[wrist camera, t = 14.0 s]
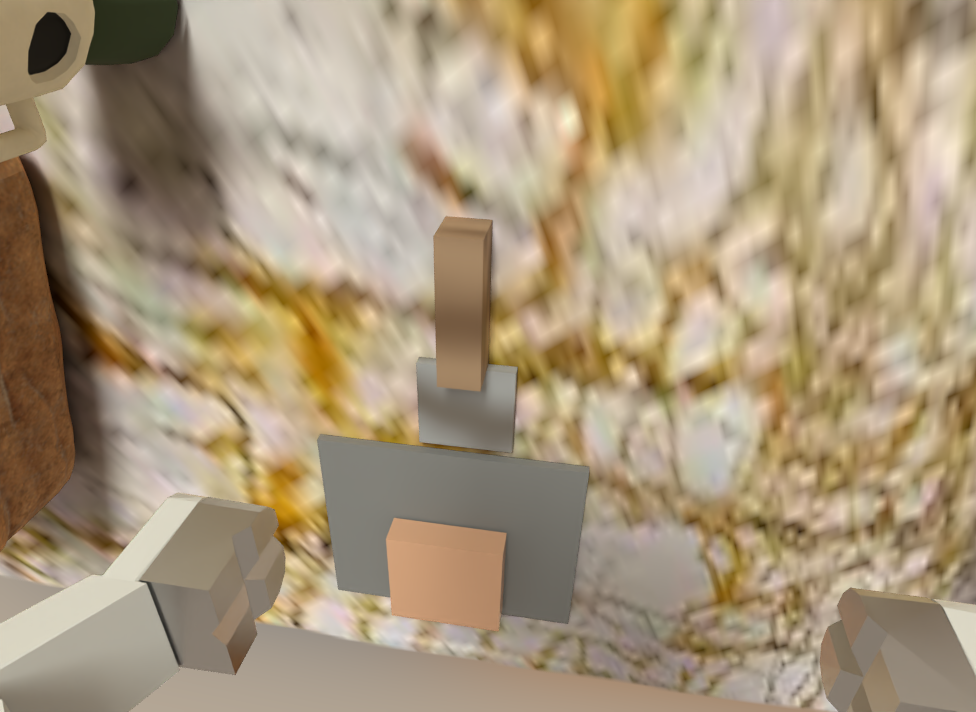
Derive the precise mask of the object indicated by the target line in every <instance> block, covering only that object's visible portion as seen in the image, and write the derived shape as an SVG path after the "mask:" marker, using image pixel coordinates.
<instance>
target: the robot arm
mask: <svg viewBox="0 0 976 712" xmlns="http://www.w3.org/2000/svg"><path fill="white" fill-rule="evenodd" d="M277 527H278V521H277V517H276V513H275V510H274V509H272V508H269V507H265V506H259V505H253V504H247V503H241V502H235V501H229V500H223V499H217V498H211V497H203V496H196V495H190V494H184V493H176V494H174V495H172V496H170V497H168V498H167V499H166V500H165V501H164V502H163V504H162V505H161V506H160V507H159V508H158V510H157V511H156V512H155V513H154V514H153V516H152V517H151V518H150V519H149V520H148V522H147V523H146V524H145V525H144V526H143V527H142V529H141V530H140V531H139V532H138V533H137V535H136V536H135V537H134V538H133V539H132V541H131V542H130V543H129V544H128V545H127V547H126V548H125V549H124V550H123V551H122V553H121V554H120V555H119V556H118V557H117V559H116V560H115V561H114V562H113V563H112V565H111V566H110V567H109V568H108V569H107V571H106V572H105V573H104V574H103V575H94V574H93V575H91V576H89V577H87V578H85V579H83V580H81V581H79V582H77V583H76V584H74V585H72V586H70V587H68V588H66V589H64V590H62V591H61V592H59V593H57V594H55V595H53V596H51V597H49V598H47V599H45V600H44V601H42V602H40V603H38V604H36V605H34V606H32V607H30V608H29V609H27V610H25V611H23V612H21V613H19V614H17V615H15V616H13V617H12V618H10V619H8V620H6V621H4V622H2V623H0V712H129V711H130V710H131V709H133V708H134V707H135V706H136V705H138V704H139V703H140V702H141V701H143V700H144V699H145V698H146V697H148V696H149V695H150V694H151V693H153V692H154V691H155V690H156V689H158V688H159V687H160V686H161V685H162V684H163V683H165V682H166V681H167V680H169V679H170V678H171V677H172V676H173V675H175V674H176V673H177V672H179V670H180V668H179V667H184V668H191V669H198V670H205V671H211V672H219V673H225V674H232V675H236V673H237V671H238V669H239V667H240V665H241V664H242V662H243V660H244V658H245V656H246V654H247V653H248V651H249V649H250V647H251V645H252V643H253V641H254V639H255V638H256V636H257V630H256V625H255V619H256V618H257V617H259V616H260V615H262V614H263V613H265V612H266V611H268V610H269V609H271V608H272V606H273V604H274V602H275V600H276V598H277V596H278V594H279V592H280V588H281V585H282V581H283V577H284V574H285V553H284V548H283V545H282V544H281V543H280V542H279V541H278V540H277V539H276V538H275V537H274V536H273V534H274V532H275V531H276V529H277ZM837 606H838V609H839V612H840V615H841V619H842V620H840V621H838V622H836V623H834V624H832V625H831V626H829V627H828V628H827V630H826V633H825V636H824V638H823V641H822V643H821V656H820V668H821V676H822V682H823V686H824V690H825V694H826V698H827V699H828V701H829V702H830V703H831V704H832V705H833V706H834V707H835V708H836V709H837V710H838V711H839V712H976V605H974V604H967V603H960V602H952V601H945V600H938V599H928V598H926V597H918V596H910V595H902V594H895V593H887V592H879V591H871V590H863V589H856V588H849V589H848V590H847V591H846V592H844V593H843V595H842V597H841V599H840V601H839V603H838V605H837Z"/></svg>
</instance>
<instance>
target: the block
mask: <svg viewBox="0 0 976 712" xmlns="http://www.w3.org/2000/svg"><path fill="white" fill-rule="evenodd" d="M506 536H507V533H503V532H496V531H488V530H481V529H473V528H466V527H459V526H451V525H444V524H436V523H429V522H422V521H414V520H407V519H399V518H394V519H393V522H392V524H391V527H390V530H389V532H388V535H387V538H386V546H387V559H388V572H389V584H390V597H391V609H392V615H395V616H401V617H408V618H415V619H421V620H428V621H434V622H441V623H447V624H454V625H460V626H467V627H473V628H480V629H486V630H493V631H499V626H500V620H501V614H502V607H503V589H504V571H505V554H506Z"/></svg>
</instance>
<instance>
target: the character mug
mask: <svg viewBox="0 0 976 712" xmlns="http://www.w3.org/2000/svg"><path fill="white" fill-rule="evenodd" d="M177 11H178V4H177V1H176V0H0V106H1V105H5V104H6V106H7V109H8V111H9V114H10V116H11V119H12V121H13V124H14V127H15V130H11V131H8V132H4V133H1V134H0V162H3V161H6V160H9V159H12V158H15V157H18V156H21V155H23V154H26V153H29V152H32V151H35V150H37V149H38V148H40V147H41V146H42V145H43V144H44V143H45V142H46V141H47V140H46V132H45V128H44V126H43V123H42V120H41V118H40V115H39V112H38V110H37V107H36V104H35V102H34V99H33V97H37V96H41V95H44V94H47V93H50V92H53V91H57V90H60V89H63V88H64V87H65V86H66V85H67V84H68V83H69V81H70V80H71V79H72V78H73V77H74V76H75V75H76V74H77V73H78V72H79V70H80V69H81V68H82V67H83V66H84V65H114V64H129V63H134V62H137V61H141V60H144V59H147V58H150V57H153V56H157V55H158V54H159V53H160V52H161V50H162V49H163V48H164V47H165V45H166V44H167V43H168V41H169V40H170V39H171V37H172V36H173V35H174V29H175V23H176V17H177Z"/></svg>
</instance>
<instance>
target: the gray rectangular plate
mask: <svg viewBox="0 0 976 712" xmlns="http://www.w3.org/2000/svg"><path fill="white" fill-rule="evenodd" d="M317 443H318V450H319V457H320V464H321V471H322V478H323V485H324V492H325V499H326V506H327V513H328V520H329V527H330V534H331V542H332V549H333V556H334V563H335V570H336V577H337V584H338V590H345V591H351V592H358V593H365V594H372V595H378V596H385V597H390V584H389V572H388V559H387V546H386V538H387V535H388V532H389V530H390V527H391V524H392V522H393V519H394V518H399V519H407V520H414V521H422V522H429V523H436V524H444V525H451V526H459V527H466V528H473V529H481V530H488V531H496V532H503V533H507V536H506V554H505V571H504V589H503V607H502V614H505V615H512V616H519V617H525V618H532V619H539V620H545V621H552V622H559V623H565V624H568V620H569V613H570V606H571V599H572V592H573V585H574V578H575V570H576V563H577V556H578V549H579V542H580V535H581V527H582V520H583V513H584V506H585V499H586V492H587V485H588V477H589V467H586V466H578V465H570V464H561V463H553V462H545V461H537V460H528V459H520V458H512V457H504V456H495V455H487V454H479V453H471V452H462V451H454V450H446V449H438V448H429V447H421V446H413V445H405V444H396V443H388V442H380V441H372V440H363V439H355V438H347V437H339V436H330V435H322V434H320V436H319V438H318V439H317Z"/></svg>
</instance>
